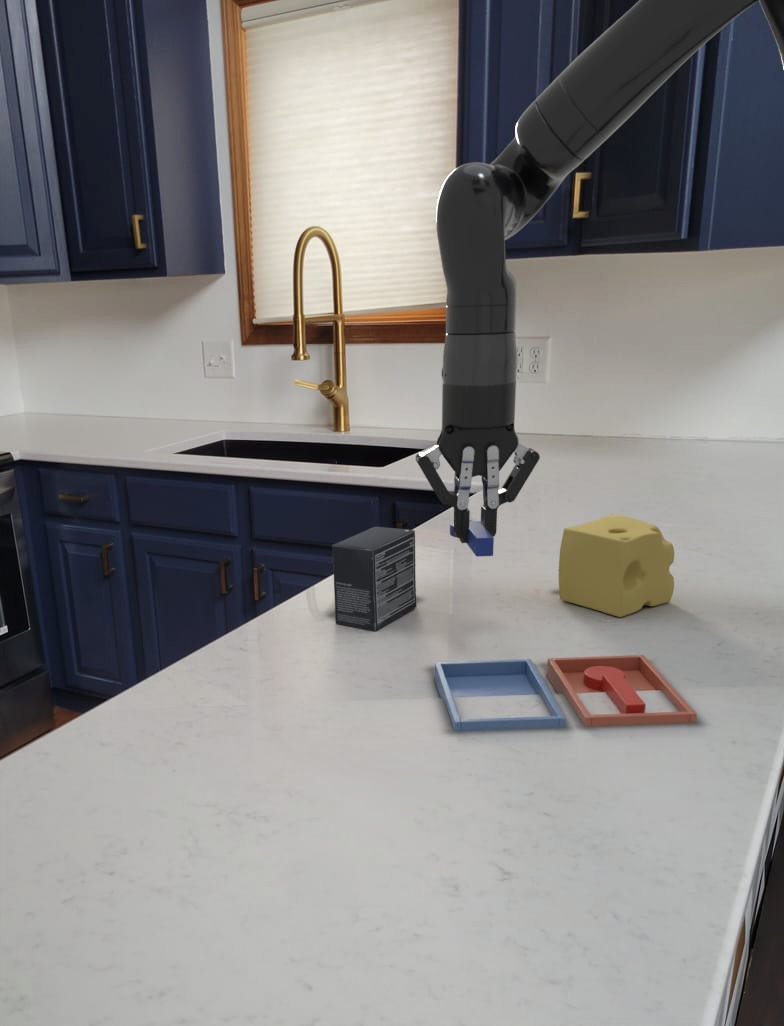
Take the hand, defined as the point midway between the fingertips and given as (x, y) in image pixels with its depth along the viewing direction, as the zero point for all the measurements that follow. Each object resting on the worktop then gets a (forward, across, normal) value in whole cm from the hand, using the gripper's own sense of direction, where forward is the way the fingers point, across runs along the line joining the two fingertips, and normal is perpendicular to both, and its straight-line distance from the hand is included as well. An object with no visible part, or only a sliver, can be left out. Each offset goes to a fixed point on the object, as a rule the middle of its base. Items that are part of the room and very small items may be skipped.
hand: (474, 540), depth 105 cm
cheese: (+13, +21, +15) cm, 29 cm away
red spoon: (+13, +11, -16) cm, 23 cm away
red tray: (+13, +12, -15) cm, 23 cm away
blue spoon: (0, 0, 0) cm, 0 cm away
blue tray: (+13, 0, -15) cm, 20 cm away
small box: (+13, -10, +14) cm, 22 cm away
